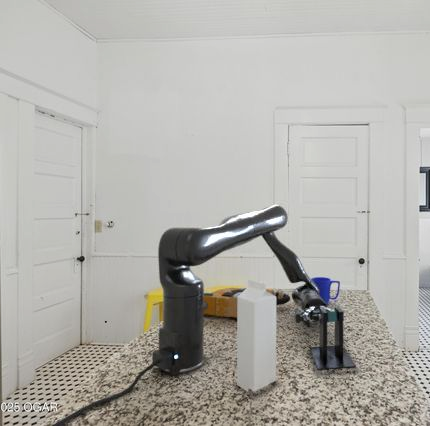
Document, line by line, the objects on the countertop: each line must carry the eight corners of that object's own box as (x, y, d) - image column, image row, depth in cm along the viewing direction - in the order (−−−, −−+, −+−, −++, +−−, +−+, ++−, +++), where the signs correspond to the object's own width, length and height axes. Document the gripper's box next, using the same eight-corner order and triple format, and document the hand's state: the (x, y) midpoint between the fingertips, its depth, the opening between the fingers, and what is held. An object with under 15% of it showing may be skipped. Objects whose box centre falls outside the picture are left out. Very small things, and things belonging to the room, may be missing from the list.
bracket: (309, 351, 82) (309, 303, 82) (342, 349, 84) (342, 302, 84) (318, 374, 70) (318, 318, 70) (356, 371, 72) (356, 316, 72)
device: (228, 280, 133) (293, 286, 123) (228, 300, 132) (293, 307, 123) (193, 293, 111) (269, 300, 101) (193, 316, 111) (268, 326, 101)
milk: (259, 375, 70) (259, 277, 71) (276, 385, 66) (277, 281, 66) (236, 385, 66) (237, 281, 66) (253, 397, 62) (254, 286, 62)
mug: (340, 306, 124) (340, 281, 124) (310, 306, 124) (310, 281, 124) (338, 300, 132) (338, 277, 132) (310, 300, 132) (310, 277, 132)
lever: (312, 322, 87) (312, 313, 88) (331, 321, 88) (330, 312, 89) (321, 322, 75) (321, 312, 76) (343, 321, 76) (342, 311, 77)
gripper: (291, 295, 100) (298, 310, 84) (334, 293, 102) (348, 308, 86) (291, 318, 100) (298, 338, 84) (334, 316, 102) (348, 335, 86)
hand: (323, 323), depth 85 cm, fingers open, 8 cm apart
